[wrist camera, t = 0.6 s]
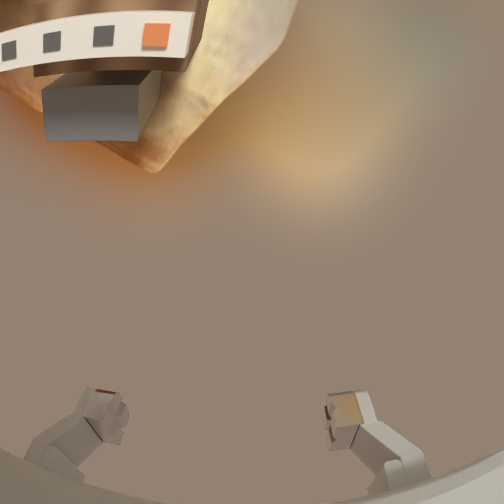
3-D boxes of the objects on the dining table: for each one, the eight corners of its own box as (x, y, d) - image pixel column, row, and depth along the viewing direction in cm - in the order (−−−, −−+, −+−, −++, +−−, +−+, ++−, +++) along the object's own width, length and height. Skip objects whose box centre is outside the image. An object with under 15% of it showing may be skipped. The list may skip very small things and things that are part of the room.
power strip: (-31, 75, 17) (-49, 87, 14) (-33, 44, 14) (-52, 53, 11) (188, 52, 22) (184, 59, 20) (195, 12, 19) (191, 13, 17)
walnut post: (110, 37, 37) (33, 77, 20) (115, -4, 32) (34, 5, 14) (201, 38, 41) (185, 71, 23) (209, -3, 35) (198, -9, 18)
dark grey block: (89, 97, 45) (47, 141, 33) (89, 58, 39) (41, 90, 27) (159, 98, 48) (137, 141, 36) (163, 57, 42) (139, 85, 30)
